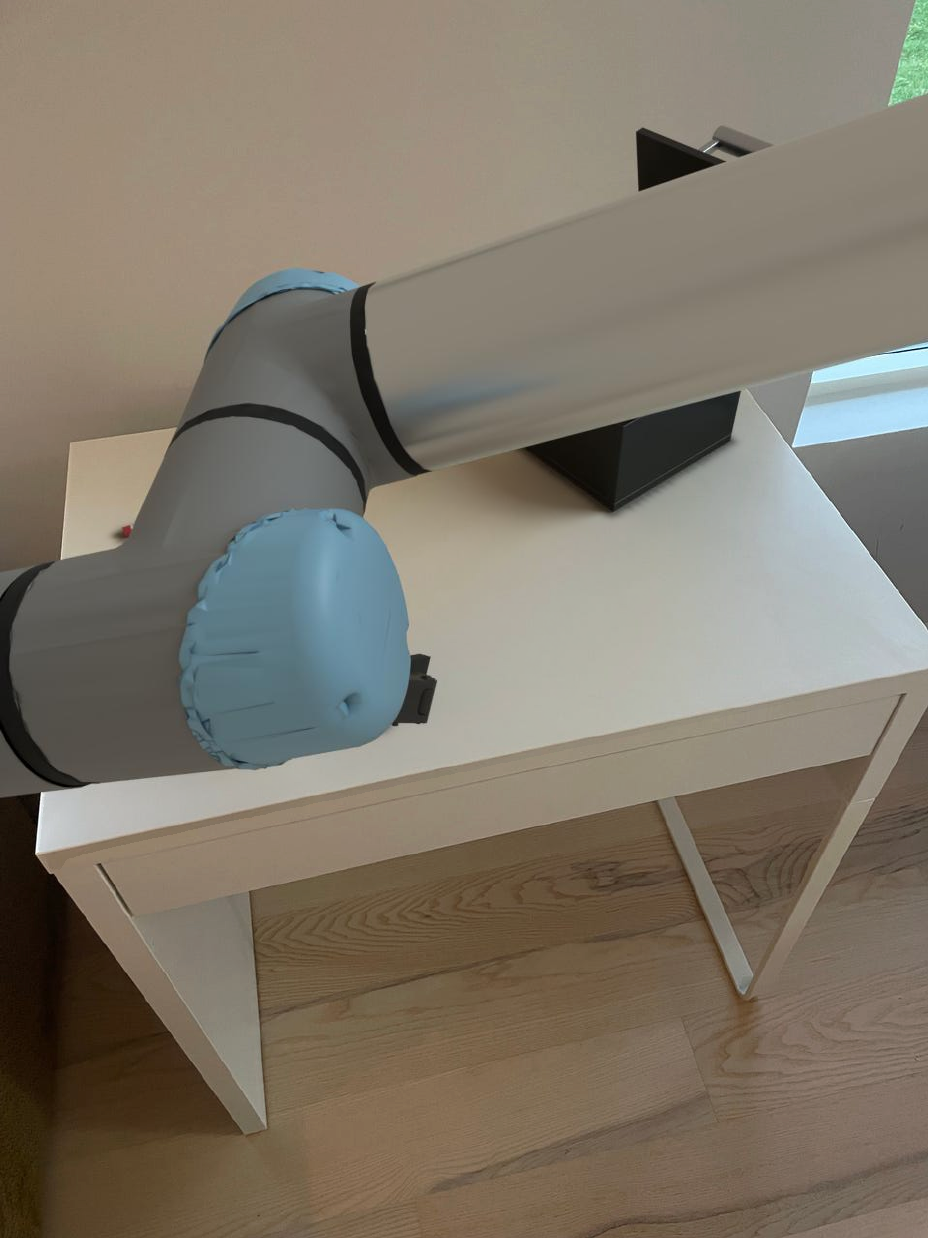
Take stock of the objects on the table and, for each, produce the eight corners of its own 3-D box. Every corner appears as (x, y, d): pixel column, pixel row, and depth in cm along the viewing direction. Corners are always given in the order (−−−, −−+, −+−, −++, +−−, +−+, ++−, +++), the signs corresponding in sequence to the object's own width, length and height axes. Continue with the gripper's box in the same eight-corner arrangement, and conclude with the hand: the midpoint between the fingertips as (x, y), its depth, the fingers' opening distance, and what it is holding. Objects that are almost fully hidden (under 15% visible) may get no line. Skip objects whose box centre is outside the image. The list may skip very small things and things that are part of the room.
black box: (613, 512, 87) (623, 426, 80) (519, 445, 94) (521, 361, 87) (730, 441, 94) (749, 356, 87) (634, 383, 100) (645, 300, 94)
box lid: (758, 182, 73) (821, 136, 75) (635, 131, 80) (695, 90, 81) (746, 354, 86) (800, 312, 88) (642, 298, 93) (694, 260, 95)
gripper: (-109, 678, 46) (150, 654, 67) (364, 839, 40) (490, 757, 60) (-79, 525, 46) (172, 547, 66) (406, 663, 39) (519, 641, 60)
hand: (324, 648), depth 63 cm, fingers open, 13 cm apart
